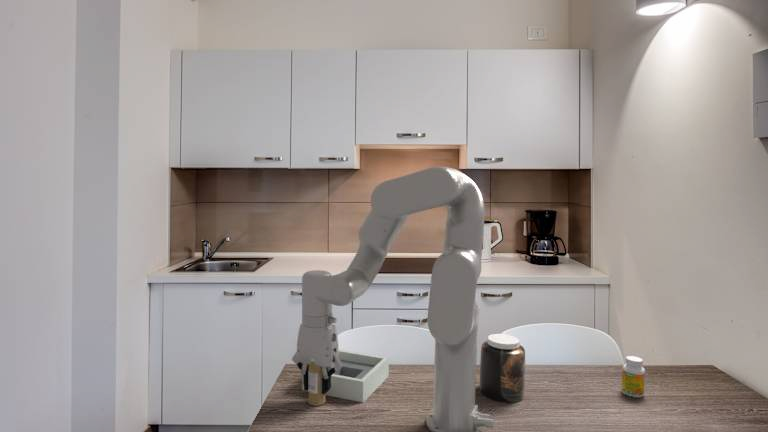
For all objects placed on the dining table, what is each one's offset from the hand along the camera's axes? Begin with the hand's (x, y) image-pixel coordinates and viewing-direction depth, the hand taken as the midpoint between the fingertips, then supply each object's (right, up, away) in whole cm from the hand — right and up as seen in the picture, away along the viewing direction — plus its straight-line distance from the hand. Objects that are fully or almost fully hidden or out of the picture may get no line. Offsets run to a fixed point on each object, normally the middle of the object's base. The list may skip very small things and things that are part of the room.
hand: (317, 389), depth 120 cm
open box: (+7, -3, +12) cm, 14 cm away
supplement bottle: (+85, -4, +8) cm, 85 cm away
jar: (+49, -4, +7) cm, 50 cm away
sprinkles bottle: (0, -4, 0) cm, 4 cm away
